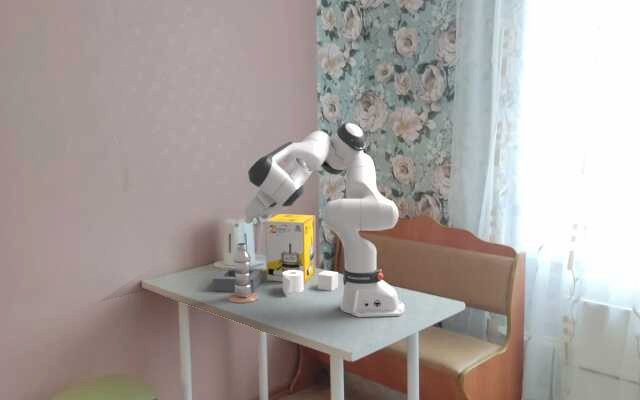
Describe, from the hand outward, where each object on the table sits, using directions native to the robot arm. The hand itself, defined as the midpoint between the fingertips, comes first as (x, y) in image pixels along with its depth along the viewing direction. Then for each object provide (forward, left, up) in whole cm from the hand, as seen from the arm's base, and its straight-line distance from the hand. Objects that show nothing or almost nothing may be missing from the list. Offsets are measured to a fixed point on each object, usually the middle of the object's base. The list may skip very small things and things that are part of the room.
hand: (255, 219), depth 205 cm
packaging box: (-7, -32, -31) cm, 45 cm away
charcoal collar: (+12, -17, -30) cm, 37 cm away
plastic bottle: (+6, -3, -30) cm, 31 cm away
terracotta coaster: (+6, -2, -30) cm, 31 cm away
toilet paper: (-10, -12, -31) cm, 35 cm away
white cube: (-24, -18, -31) cm, 43 cm away
